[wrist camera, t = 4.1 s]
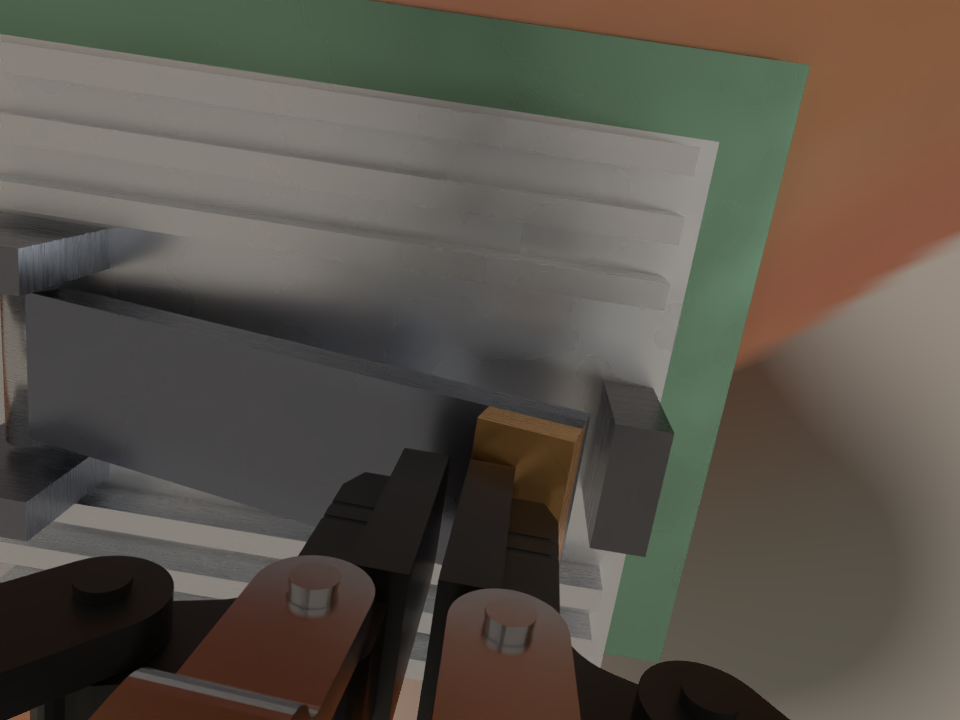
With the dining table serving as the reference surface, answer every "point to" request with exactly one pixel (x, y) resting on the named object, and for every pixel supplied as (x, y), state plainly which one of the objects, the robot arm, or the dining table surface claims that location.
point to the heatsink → (397, 250)
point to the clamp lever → (260, 409)
